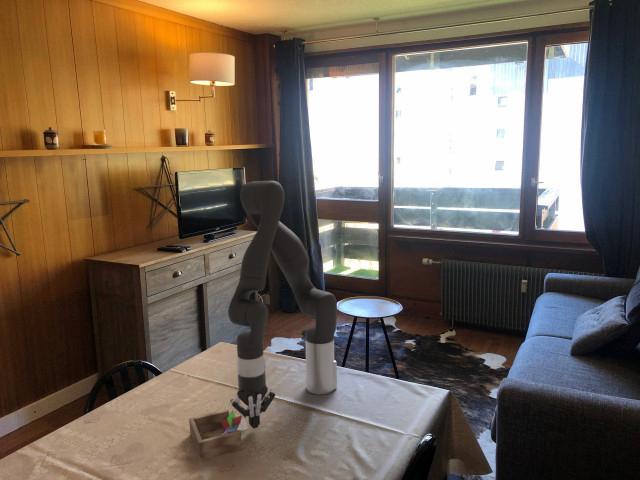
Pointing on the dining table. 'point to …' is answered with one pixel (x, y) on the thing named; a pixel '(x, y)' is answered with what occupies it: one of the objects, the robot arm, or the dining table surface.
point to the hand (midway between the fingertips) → (254, 426)
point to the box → (214, 444)
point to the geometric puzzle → (234, 423)
